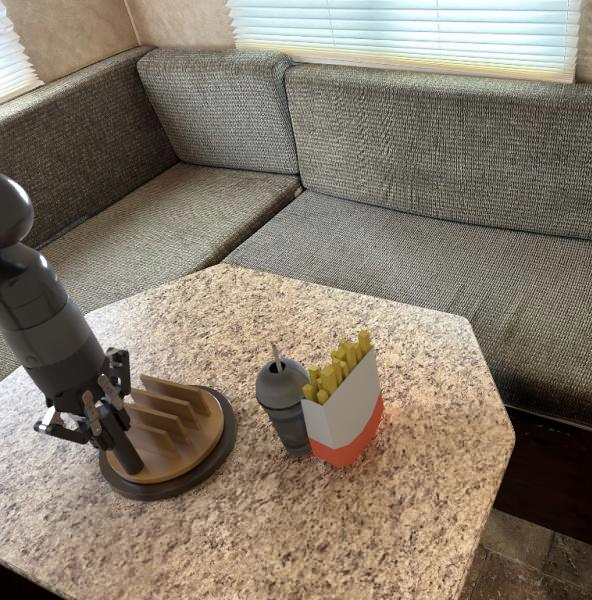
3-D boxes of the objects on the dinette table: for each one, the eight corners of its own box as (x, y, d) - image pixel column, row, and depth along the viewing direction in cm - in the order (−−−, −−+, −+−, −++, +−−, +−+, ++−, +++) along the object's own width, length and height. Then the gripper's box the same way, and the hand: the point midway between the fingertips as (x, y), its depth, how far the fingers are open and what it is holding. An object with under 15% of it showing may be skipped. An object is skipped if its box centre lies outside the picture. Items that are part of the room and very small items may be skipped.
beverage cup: (309, 413, 88) (279, 311, 75) (337, 443, 84) (311, 340, 71) (265, 442, 85) (227, 340, 72) (293, 475, 81) (257, 373, 68)
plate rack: (156, 381, 94) (125, 322, 86) (245, 403, 89) (221, 342, 81) (83, 466, 83) (40, 407, 74) (180, 497, 78) (145, 437, 69)
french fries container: (314, 464, 82) (286, 374, 70) (359, 408, 88) (341, 317, 77) (342, 478, 80) (318, 388, 68) (386, 420, 86) (371, 328, 75)
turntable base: (136, 529, 77) (132, 523, 76) (82, 443, 88) (77, 437, 87) (263, 439, 86) (260, 433, 85) (198, 372, 97) (195, 365, 96)
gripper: (71, 293, 71) (127, 391, 82) (-26, 379, 61) (52, 477, 72) (122, 303, 69) (173, 402, 80) (29, 394, 59) (101, 492, 70)
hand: (115, 437), depth 76 cm, fingers closed on plate rack, 2 cm apart
